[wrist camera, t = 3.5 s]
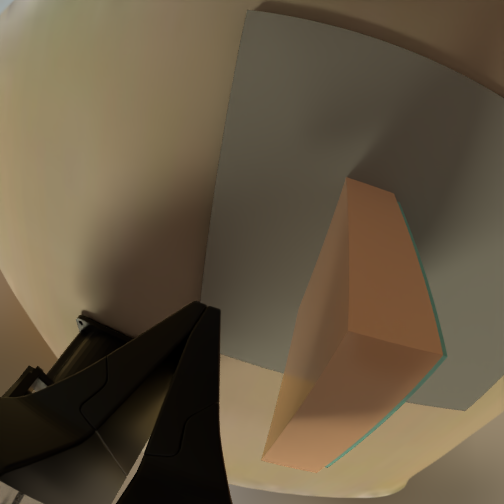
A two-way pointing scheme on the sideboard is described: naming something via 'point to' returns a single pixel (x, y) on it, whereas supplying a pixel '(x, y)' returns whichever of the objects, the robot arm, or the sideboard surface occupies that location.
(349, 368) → the tile
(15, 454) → the robot arm
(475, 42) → the sideboard surface
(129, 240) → the sideboard surface
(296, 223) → the mat
